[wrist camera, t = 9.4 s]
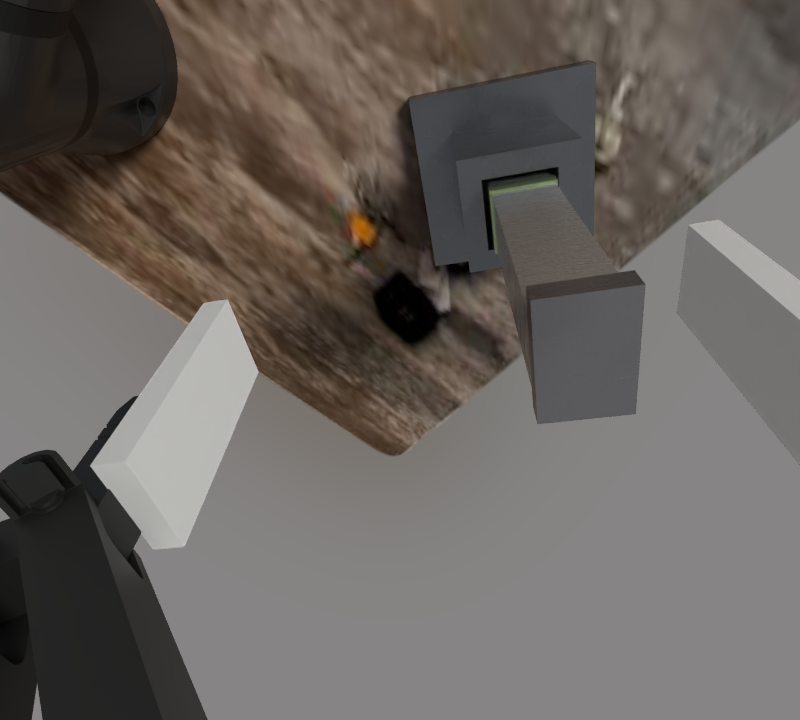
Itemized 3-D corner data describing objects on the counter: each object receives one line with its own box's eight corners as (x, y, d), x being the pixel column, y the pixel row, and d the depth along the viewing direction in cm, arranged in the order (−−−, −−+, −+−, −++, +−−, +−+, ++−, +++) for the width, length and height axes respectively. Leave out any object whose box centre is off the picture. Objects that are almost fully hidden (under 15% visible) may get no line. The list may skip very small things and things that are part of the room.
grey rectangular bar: (490, 241, 40) (533, 424, 22) (482, 161, 37) (526, 300, 19) (548, 232, 39) (639, 413, 22) (545, 150, 36) (649, 283, 18)
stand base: (435, 257, 49) (435, 313, 40) (409, 96, 42) (402, 121, 33) (587, 234, 47) (624, 287, 38) (589, 60, 40) (634, 75, 31)
